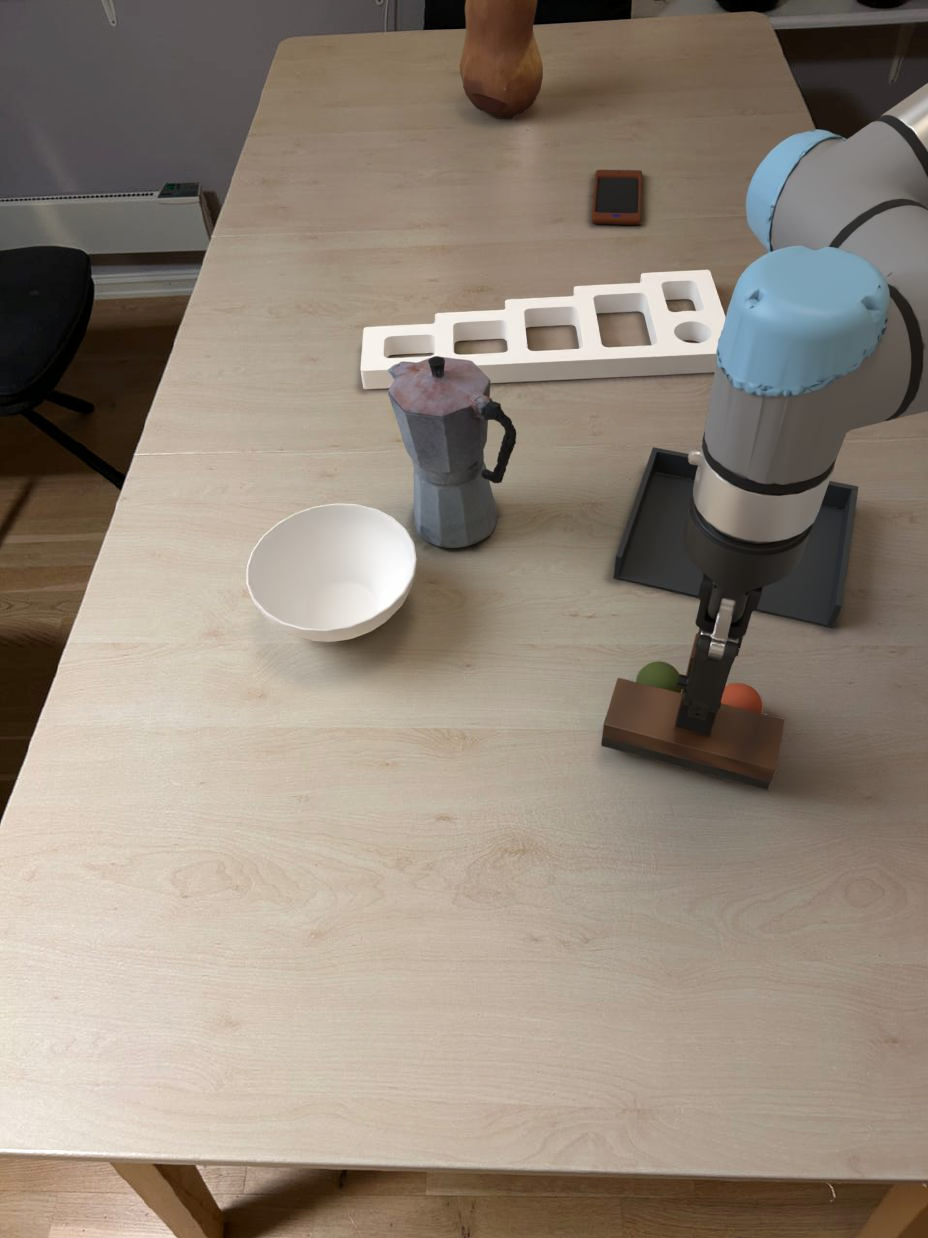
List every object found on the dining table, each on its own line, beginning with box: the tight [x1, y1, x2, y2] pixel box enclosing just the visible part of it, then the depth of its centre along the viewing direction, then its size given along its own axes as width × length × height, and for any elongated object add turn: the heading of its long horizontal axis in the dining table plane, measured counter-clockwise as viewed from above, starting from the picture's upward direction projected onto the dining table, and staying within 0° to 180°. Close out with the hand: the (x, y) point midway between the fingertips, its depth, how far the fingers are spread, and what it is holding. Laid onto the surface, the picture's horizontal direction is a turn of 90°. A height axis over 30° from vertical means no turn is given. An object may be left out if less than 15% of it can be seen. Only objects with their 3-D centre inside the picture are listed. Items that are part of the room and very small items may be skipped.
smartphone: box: [591, 169, 643, 226], centre depth 139 cm, size 7×1×15 cm
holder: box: [359, 269, 726, 390], centre depth 118 cm, size 45×18×3 cm, turn 91°
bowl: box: [245, 502, 418, 643], centre depth 90 cm, size 16×16×7 cm
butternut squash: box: [459, 0, 544, 120], centre depth 150 cm, size 14×13×25 cm
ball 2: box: [721, 682, 763, 714], centre depth 81 cm, size 4×4×4 cm
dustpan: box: [613, 446, 859, 629], centre depth 97 cm, size 27×21×3 cm
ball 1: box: [635, 660, 682, 693], centre depth 83 cm, size 4×4×4 cm
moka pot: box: [387, 356, 517, 549], centre depth 91 cm, size 10×15×20 cm, turn 55°
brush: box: [600, 632, 786, 791], centre depth 74 cm, size 14×5×14 cm, turn 71°
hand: (696, 711), depth 76 cm, fingers closed on brush, 2 cm apart
